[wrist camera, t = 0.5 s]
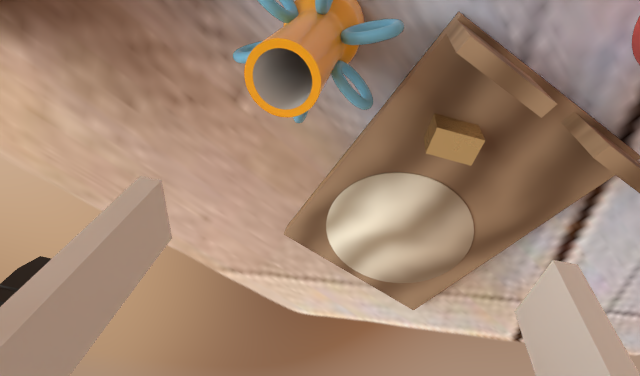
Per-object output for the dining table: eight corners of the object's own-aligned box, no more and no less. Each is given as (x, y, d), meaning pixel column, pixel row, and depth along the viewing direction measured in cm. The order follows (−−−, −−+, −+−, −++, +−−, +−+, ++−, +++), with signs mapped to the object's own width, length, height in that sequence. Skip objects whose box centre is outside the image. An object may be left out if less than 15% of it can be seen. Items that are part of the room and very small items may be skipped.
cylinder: (425, 37, 29) (444, 103, 17) (334, 113, 34) (299, 206, 22) (323, -96, 25) (255, -132, 13) (239, 13, 31) (135, 58, 19)
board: (286, 226, 44) (268, 271, 38) (458, 11, 28) (475, 30, 22) (413, 300, 47) (415, 353, 41) (632, 149, 31) (688, 198, 25)
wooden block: (423, 137, 32) (425, 153, 30) (434, 113, 31) (437, 127, 29) (465, 149, 32) (471, 165, 30) (478, 125, 31) (485, 140, 28)
